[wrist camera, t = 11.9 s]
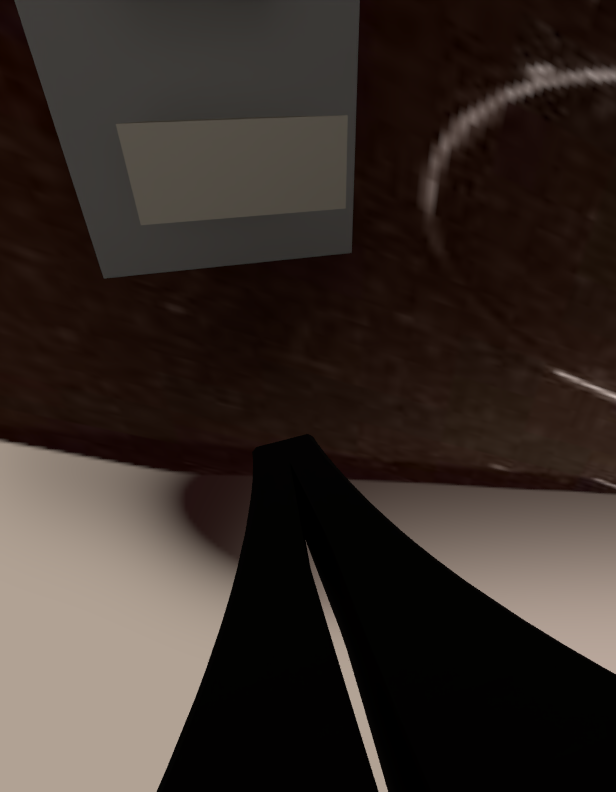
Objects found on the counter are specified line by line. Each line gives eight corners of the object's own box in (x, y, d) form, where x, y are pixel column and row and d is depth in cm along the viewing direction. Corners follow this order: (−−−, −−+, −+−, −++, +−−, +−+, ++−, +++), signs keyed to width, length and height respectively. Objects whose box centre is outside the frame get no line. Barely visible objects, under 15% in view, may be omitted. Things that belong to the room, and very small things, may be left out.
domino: (144, 121, 13) (115, 123, 8) (282, 116, 14) (347, 115, 8) (157, 183, 14) (140, 225, 9) (285, 175, 15) (345, 208, 10)
